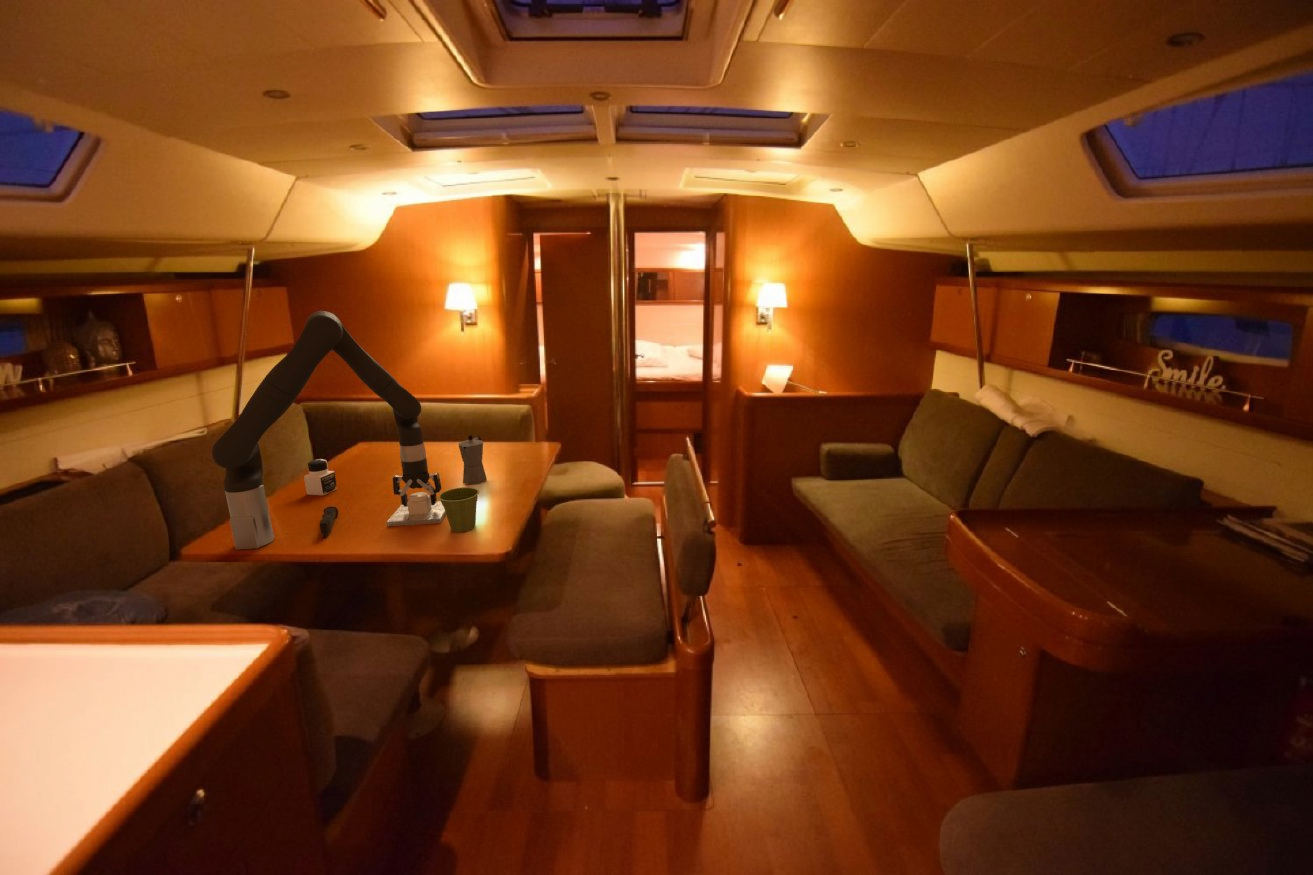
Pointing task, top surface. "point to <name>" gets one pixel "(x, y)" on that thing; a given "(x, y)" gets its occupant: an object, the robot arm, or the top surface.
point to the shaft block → (417, 516)
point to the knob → (419, 503)
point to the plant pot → (460, 507)
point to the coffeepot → (472, 461)
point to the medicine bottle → (319, 478)
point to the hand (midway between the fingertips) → (419, 505)
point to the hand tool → (328, 520)
